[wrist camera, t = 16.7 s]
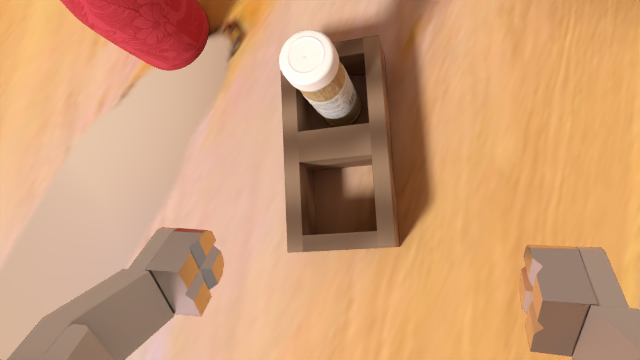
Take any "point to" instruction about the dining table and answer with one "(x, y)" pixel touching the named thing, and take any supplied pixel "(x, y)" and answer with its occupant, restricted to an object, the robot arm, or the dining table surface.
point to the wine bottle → (148, 28)
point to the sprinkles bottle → (320, 76)
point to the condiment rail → (340, 155)
